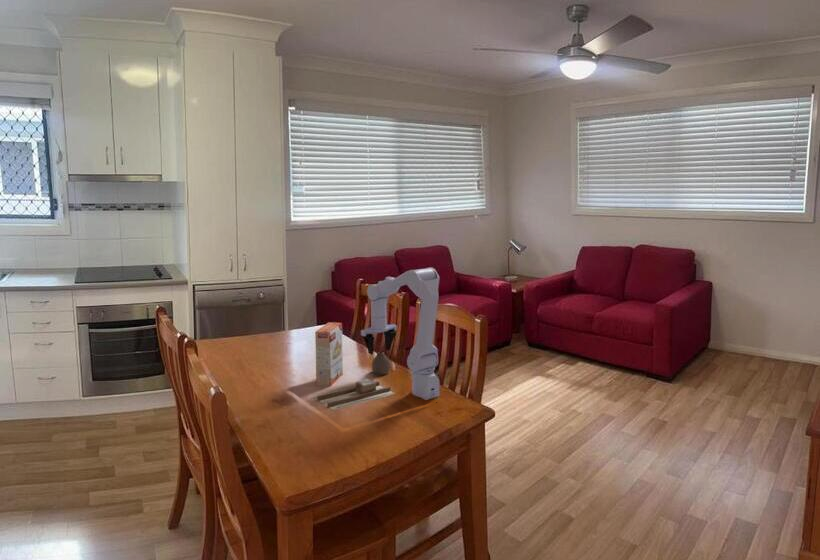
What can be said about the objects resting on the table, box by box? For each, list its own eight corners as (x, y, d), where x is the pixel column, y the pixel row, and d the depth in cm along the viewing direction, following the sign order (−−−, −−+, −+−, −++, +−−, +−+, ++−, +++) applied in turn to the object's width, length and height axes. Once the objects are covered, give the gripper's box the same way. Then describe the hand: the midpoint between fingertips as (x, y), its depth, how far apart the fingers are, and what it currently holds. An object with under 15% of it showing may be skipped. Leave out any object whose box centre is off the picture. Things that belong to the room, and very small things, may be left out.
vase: (382, 379, 213) (381, 356, 211) (368, 375, 217) (367, 353, 216) (393, 374, 218) (393, 352, 217) (379, 370, 223) (379, 348, 221)
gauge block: (375, 393, 197) (375, 382, 196) (363, 396, 194) (363, 385, 193) (368, 388, 201) (368, 378, 200) (355, 391, 198) (355, 381, 197)
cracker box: (331, 389, 203) (330, 332, 200) (315, 388, 204) (313, 331, 201) (344, 375, 217) (342, 322, 213) (328, 374, 218) (327, 321, 214)
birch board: (395, 396, 196) (395, 390, 196) (333, 413, 182) (333, 407, 182) (373, 384, 208) (373, 378, 207) (313, 399, 194) (313, 393, 193)
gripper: (389, 311, 218) (389, 345, 221) (356, 316, 210) (357, 352, 212) (399, 314, 213) (400, 350, 215) (366, 320, 204) (367, 357, 207)
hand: (379, 351), depth 213 cm, fingers open, 7 cm apart
